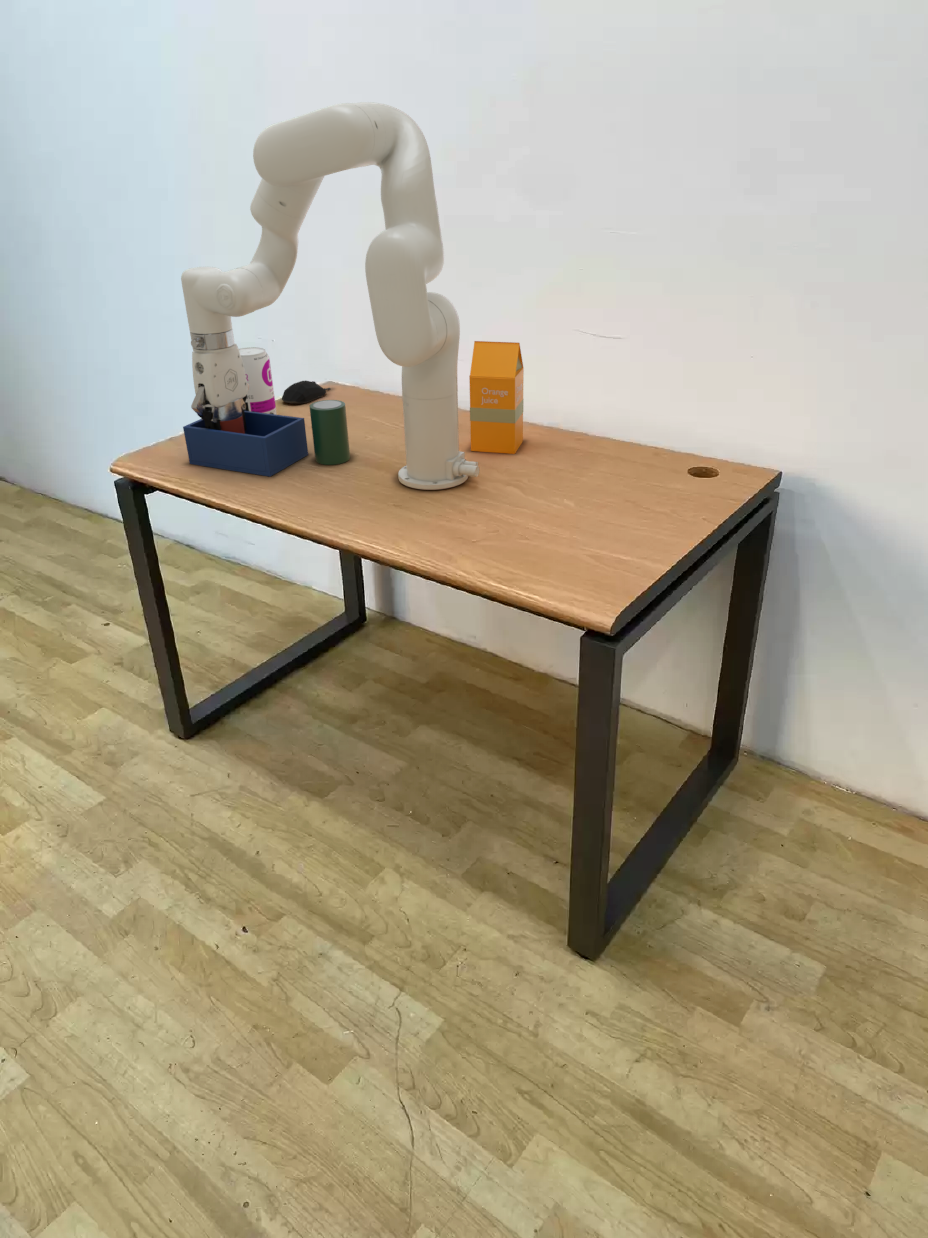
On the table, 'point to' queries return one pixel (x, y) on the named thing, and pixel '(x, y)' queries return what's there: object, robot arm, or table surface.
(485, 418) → the orange juice
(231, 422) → the silver can
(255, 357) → the supplement can
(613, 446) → the table surface
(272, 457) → the blue storage box
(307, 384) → the gaming mouse
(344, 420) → the green can
